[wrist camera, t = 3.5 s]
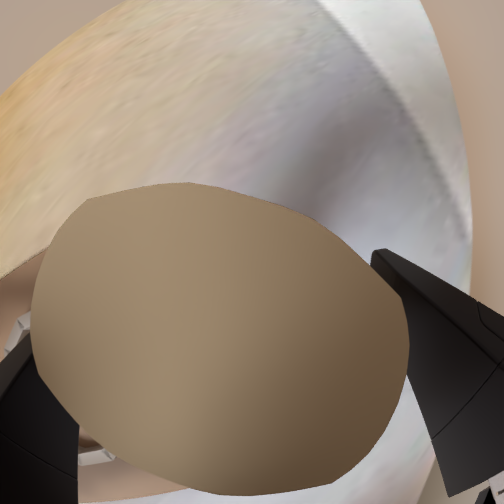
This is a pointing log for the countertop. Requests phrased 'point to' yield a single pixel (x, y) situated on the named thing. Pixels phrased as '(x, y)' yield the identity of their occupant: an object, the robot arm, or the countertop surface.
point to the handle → (218, 339)
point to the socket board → (89, 452)
